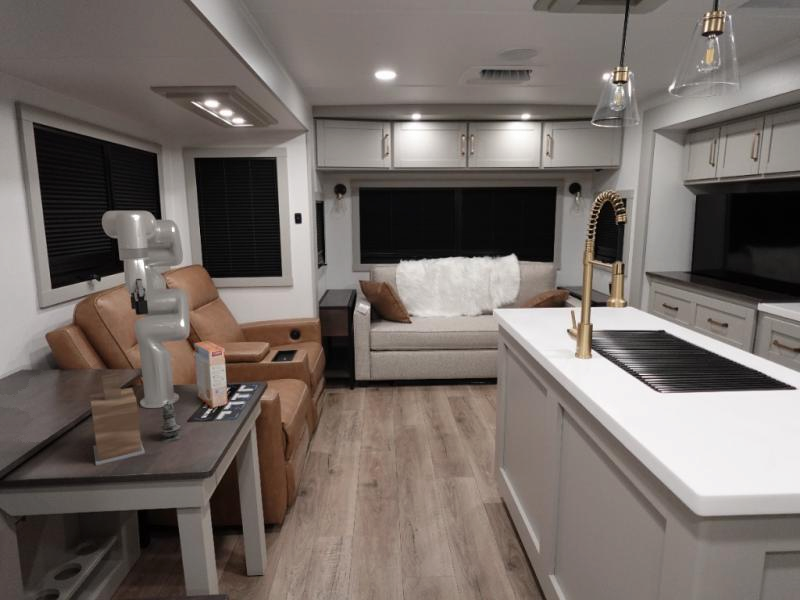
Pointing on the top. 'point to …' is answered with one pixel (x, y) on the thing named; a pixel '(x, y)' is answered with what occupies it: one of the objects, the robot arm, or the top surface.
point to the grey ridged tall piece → (169, 424)
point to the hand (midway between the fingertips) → (139, 311)
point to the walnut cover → (115, 420)
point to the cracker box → (211, 373)
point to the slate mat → (115, 457)
